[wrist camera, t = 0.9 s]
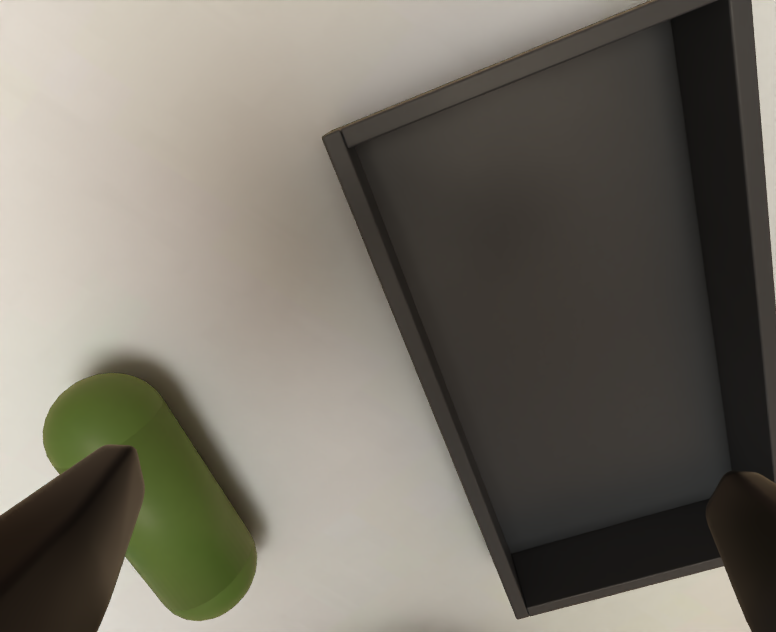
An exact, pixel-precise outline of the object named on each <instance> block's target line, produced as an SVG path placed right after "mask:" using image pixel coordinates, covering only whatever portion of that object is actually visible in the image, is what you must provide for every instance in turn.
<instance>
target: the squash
mask: <svg viewBox="0 0 776 632" xmlns="http://www.w3.org/2000/svg"><path fill="white" fill-rule="evenodd" d="M43 444H44V448H45V451H46V454H47V457H48V459H49V460H50V462H51V463H52V465H53V467H54V468H55V469H56V470H57V472H58V473H59V474H62V473H63V472H65V471H66V470H68V469H69V468H70V467H72V466H73V465H75V464H76V463H78V462H79V461H81V460H82V459H84V458H85V457H86V456H88V455H89V454H91V453H92V452H94V451H95V450H97V449H98V448H100V447H102V446H104V445H109V444H111V445H130V446H133V447H134V448H135V449H136V450H137V453H138V457H139V461H140V466H141V470H142V475H143V479H144V484H145V493H144V499H143V503H142V506H141V509H140V512H139V515H138V518H137V521H136V524H135V527H134V530H133V533H132V536H131V539H130V542H129V545H128V548H127V551H126V554H125V557H126V558H127V559H128V561H129V562H130V563H131V564H132V566H133V567H134V568H135V569H136V571H137V572H138V573H139V574H140V576H141V577H142V578H143V579H144V581H145V582H146V583H147V584H148V586H149V587H150V588H151V589H152V591H153V592H154V593H155V594H156V596H157V597H158V598H159V599H160V601H161V602H162V603H163V604H164V606H165V607H166V608H168V609H169V610H170V611H171V612H172V613H173V614H175V615H177V616H179V617H181V618H184V619H186V620H193V621H203V620H208V619H213V618H216V617H219V616H221V615H223V614H224V613H226V612H228V611H229V610H230V609H232V608H233V607H234V606H235V605H236V604H237V603H238V602H239V601H240V600H241V599H242V598H243V597H244V595H245V594H246V593H247V591H248V589H249V588H250V586H251V584H252V581H253V578H254V575H255V571H256V565H257V552H256V547H255V543H254V541H253V538H252V536H251V534H250V532H249V531H248V529H247V528H246V526H245V525H244V523H243V522H242V520H241V518H240V517H239V515H238V514H237V512H236V511H235V509H234V508H233V506H232V505H231V503H230V501H229V500H228V498H227V497H226V495H225V494H224V492H223V491H222V489H221V488H220V486H219V485H218V483H217V481H216V480H215V478H214V477H213V475H212V474H211V472H210V471H209V469H208V468H207V466H206V464H205V463H204V461H203V460H202V458H201V457H200V455H199V454H198V452H197V451H196V449H195V447H194V446H193V444H192V443H191V441H190V440H189V438H188V437H187V435H186V434H185V432H184V430H183V429H182V427H181V426H180V424H179V423H178V421H177V420H176V418H175V417H174V415H173V413H172V412H171V410H170V409H169V407H168V406H167V404H166V403H165V401H164V400H163V398H162V397H161V395H160V394H159V393H158V392H157V391H156V389H154V388H153V387H152V386H151V385H149V384H148V383H147V382H146V381H143V380H141V379H139V378H137V377H135V376H131V375H127V374H123V373H105V374H97V375H94V376H91V377H88V378H85V379H83V380H80V381H78V382H77V383H75V384H73V385H72V386H70V387H69V388H68V389H67V390H65V391H64V392H63V393H62V394H61V395H60V396H59V397H58V398H57V400H56V401H55V402H54V404H53V405H52V406H51V408H50V410H49V412H48V414H47V417H46V419H45V423H44V428H43Z"/></svg>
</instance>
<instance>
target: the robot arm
mask: <svg viewBox="0 0 776 632" xmlns="http://www.w3.org/2000/svg"><path fill="white" fill-rule="evenodd" d="M144 493H145V484H144V479H143V475H142V470H141V466H140V461H139V457H138V453H137V450H136V449H135V448H134V447H133V446H130V445H111V444H109V445H104V446H102V447H100V448H98V449H97V450H95V451H94V452H92V453H91V454H89V455H88V456H86V457H85V458H84V459H82V460H81V461H79V462H78V463H76V464H75V465H73V466H72V467H70V468H69V469H68V470H66V471H65V472H63V473H62V474H60V475H59V476H57V477H56V478H54V479H53V480H51V481H50V482H49V483H47V484H46V485H44V486H43V487H41V488H40V489H38V490H37V491H35V492H34V493H33V494H31V495H30V496H28V497H27V498H25V499H24V500H22V501H21V502H19V503H18V504H16V505H15V506H14V507H12V508H11V509H9V510H8V511H6V512H5V513H3V514H2V515H0V632H97V631H98V628H99V626H100V624H101V621H102V619H103V617H104V614H105V612H106V610H107V607H108V605H109V602H110V599H111V596H112V593H113V591H114V588H115V585H116V582H117V579H118V576H119V573H120V570H121V567H122V563H123V560H124V557H125V554H126V551H127V548H128V545H129V542H130V539H131V536H132V533H133V530H134V527H135V524H136V521H137V518H138V515H139V512H140V509H141V506H142V503H143V499H144ZM706 520H707V524H708V526H709V529H710V531H711V534H712V536H713V539H714V541H715V544H716V546H717V549H718V551H719V554H720V556H721V559H722V561H723V564H724V567H725V569H726V572H727V574H728V577H729V579H730V582H731V584H732V587H733V589H734V592H735V594H736V597H737V599H738V602H739V604H740V607H741V609H742V611H743V614H744V616H745V618H746V621H747V623H748V625H749V627H750V629H751V631H752V632H776V484H775V483H774V482H772V481H771V480H769V479H767V478H766V477H764V476H763V475H761V474H759V473H756V472H750V471H729V472H727V473H725V474H724V475H723V477H722V478H721V480H720V482H719V484H718V485H717V487H716V489H715V491H714V493H713V494H712V496H711V498H710V500H709V502H708V504H707V506H706Z"/></svg>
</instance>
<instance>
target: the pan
mask: <svg viewBox="0 0 776 632" xmlns="http://www.w3.org/2000/svg"><path fill="white" fill-rule="evenodd" d="M322 140H323V143H324V145H325V147H326V150H327V152H328V155H329V157H330V160H331V162H332V165H333V167H334V170H335V172H336V175H337V177H338V180H339V182H340V184H341V187H342V189H343V192H344V194H345V197H346V199H347V202H348V204H349V207H350V209H351V212H352V214H353V217H354V219H355V221H356V224H357V226H358V229H359V231H360V234H361V236H362V239H363V241H364V244H365V246H366V249H367V251H368V254H369V256H370V258H371V261H372V263H373V266H374V268H375V271H376V273H377V276H378V278H379V281H380V283H381V286H382V288H383V291H384V293H385V296H386V298H387V300H388V303H389V305H390V308H391V310H392V313H393V315H394V318H395V320H396V323H397V325H398V328H399V330H400V333H401V335H402V337H403V340H404V342H405V345H406V347H407V350H408V352H409V355H410V357H411V360H412V362H413V365H414V367H415V370H416V372H417V374H418V377H419V379H420V382H421V384H422V387H423V389H424V392H425V394H426V397H427V399H428V402H429V404H430V407H431V409H432V411H433V414H434V416H435V419H436V421H437V424H438V426H439V429H440V431H441V434H442V436H443V439H444V441H445V444H446V446H447V448H448V451H449V453H450V456H451V458H452V461H453V463H454V466H455V468H456V471H457V473H458V476H459V478H460V481H461V483H462V485H463V488H464V490H465V493H466V495H467V498H468V500H469V503H470V505H471V508H472V510H473V513H474V515H475V518H476V520H477V522H478V525H479V527H480V530H481V532H482V535H483V537H484V540H485V542H486V545H487V547H488V550H489V552H490V555H491V557H492V559H493V562H494V564H495V567H496V569H497V572H498V574H499V577H500V579H501V582H502V584H503V587H504V589H505V592H506V594H507V596H508V599H509V601H510V604H511V606H512V609H513V611H514V614H515V616H516V618H517V619H521V618H525V617H528V616H534V615H537V614H541V613H545V612H549V611H553V610H557V609H560V608H564V607H568V606H572V605H576V604H580V603H584V602H587V601H591V600H595V599H599V598H603V597H607V596H610V595H614V594H618V593H622V592H626V591H630V590H634V589H637V588H641V587H645V586H649V585H653V584H657V583H661V582H664V581H668V580H672V579H676V578H680V577H684V576H687V575H691V574H695V573H699V572H703V571H707V570H711V569H714V568H718V567H722V566H724V564H723V561H722V559H721V556H720V554H719V551H718V549H717V546H716V544H715V541H714V539H713V536H712V534H711V531H710V529H709V526H708V524H707V520H706V506H707V504H708V502H709V500H710V498H711V496H712V494H713V493H714V491H715V489H716V487H717V485H718V484H719V482H720V480H721V478H722V477H723V475H724V474H725V473H727V472H729V471H750V472H756V473H759V474H761V475H763V476H764V477H766V478H767V479H769V480H771V481H772V482H774V483H775V484H776V304H775V292H774V279H773V266H772V254H771V241H770V229H769V216H768V203H767V191H766V178H765V166H764V153H763V141H762V128H761V115H760V103H759V90H758V78H757V65H756V53H755V40H754V27H753V15H752V2H751V0H651V1H648V2H646V3H643V4H641V5H638V6H636V7H633V8H631V9H628V10H626V11H624V12H621V13H619V14H616V15H614V16H611V17H609V18H606V19H604V20H602V21H599V22H597V23H594V24H592V25H589V26H587V27H584V28H582V29H579V30H577V31H575V32H572V33H570V34H567V35H565V36H562V37H560V38H557V39H555V40H553V41H550V42H548V43H545V44H543V45H540V46H538V47H535V48H533V49H530V50H528V51H526V52H523V53H521V54H518V55H516V56H513V57H511V58H508V59H506V60H504V61H501V62H499V63H496V64H494V65H491V66H489V67H486V68H484V69H481V70H479V71H477V72H474V73H472V74H469V75H467V76H464V77H462V78H459V79H457V80H455V81H452V82H450V83H447V84H445V85H442V86H440V87H437V88H435V89H432V90H430V91H428V92H425V93H423V94H420V95H418V96H415V97H413V98H410V99H408V100H406V101H403V102H401V103H398V104H396V105H393V106H391V107H388V108H386V109H383V110H381V111H379V112H376V113H374V114H371V115H369V116H366V117H364V118H361V119H359V120H356V121H354V122H352V123H349V124H347V125H344V126H342V127H339V128H337V129H334V130H332V131H331V132H329V133H327V134H325V135H324V136H323V137H322Z"/></svg>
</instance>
